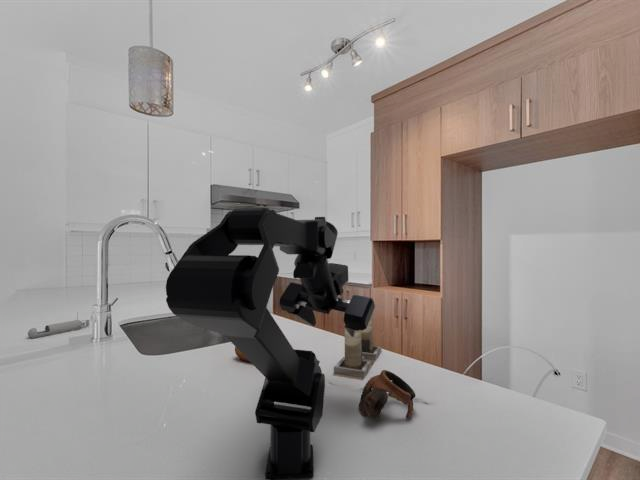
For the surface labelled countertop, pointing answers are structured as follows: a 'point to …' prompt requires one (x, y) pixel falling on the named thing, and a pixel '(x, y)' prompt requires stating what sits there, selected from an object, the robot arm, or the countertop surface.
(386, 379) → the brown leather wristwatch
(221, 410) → the countertop surface
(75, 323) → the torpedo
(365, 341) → the long tan cylinder
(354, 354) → the beige round canister
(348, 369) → the double slot holder
